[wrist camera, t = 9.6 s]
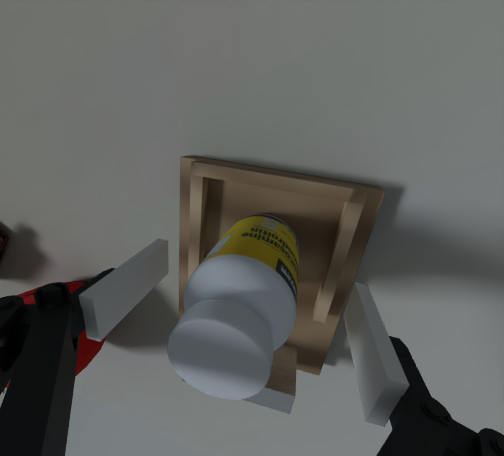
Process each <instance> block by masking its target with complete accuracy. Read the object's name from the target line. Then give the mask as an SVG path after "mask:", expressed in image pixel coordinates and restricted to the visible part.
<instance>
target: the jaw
mask: <svg viewBox="0 0 504 456" xmlns="http://www.w3.org/2000/svg"><path fill="white" fill-rule="evenodd" d="M296 361H297V347H296V346H293V345H289V344H285V343H284V344H283V345H282V346H281V347H279V348H278V349H277V350H275V351H274V355H273V360H272V366H271V372H270V376H269V379H268V382H267V384H266V386H265V387H264V388H263V389H262V390H261V391H260V392H259V393H257V394H255V395H254V396H251V397H249V398H245V399H243V400H246V401H249V402H252V403H256V404H259V405H262V406H265V407H269V408H272V409H275V410H278V411H282V412H285V413H288V414H290V412H291V408H292V405H293V402H294V399H295V391H296ZM182 381H184V382H186V381H185V380H184V379H183V378H182Z"/></svg>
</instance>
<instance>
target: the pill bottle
mask: <svg viewBox="0 0 504 456" xmlns="http://www.w3.org/2000/svg"><path fill="white" fill-rule="evenodd" d="M299 255H300V253H299V244H298V240H297V238H296V236H295V234H294V232H293V231H292V229H291V228H290V227H289V226H288V225H287V224H286V223H285V222H283V221H282V220H280V219H278V218H276V217H274V216H271V215H267V214H252V215H248V216H245V217H243V218H241V219H240V220H238V221H237V222H235V223H234V224H233V225H232V226H231V228H230V229H229V230H228V231H227V232H226V234H225V235H224V236H223V237H222V238H221V239H220V241H219V242H218V243H217V244H216V245H215V247H214V248H213V249H212V250H211V251H210V253H209V254H208V255H207V256H206V258H205V259H204V260H203V261H202V262H201V264H200V265H199V266H198V267H197V268H196V270H195V271H194V272H193V274H192V275H191V277H190V278H189V280H188V282H187V285H186V288H185V292H184V308H185V313H184V314H183V315H182V316H181V318H180V320H179V321H178V323H177V324H176V326H175V327H174V329H173V331H172V332H171V334H170V336H169V339H168V343H167V351H168V356H169V359H170V362H171V364H172V366H173V368H174V369H175V371H176V372H177V373H178V374H179V375H180V376H181V377H182V378H183V379H184V380H185V381H186V382H187V383H188V384H190V385H191V386H193V387H194V388H196V389H197V390H199V391H201V392H203V393H205V394H208V395H210V396H213V397H218V398H222V399H245V398H249V397H251V396H254V395H255V394H257V393H259V392H260V391H261V390H262V389H263V388H264V387H265V386H266V384H267V382H268V379H269V376H270V372H271V366H272V360H273V355H274V351H275V350H277V349H278V348H279V347H281V346H282V345H283V344H284V343H285V341H286V340H287V339H288V337H289V336H290V334H291V332H292V330H293V327H294V324H295V318H296V306H297V290H298V273H299Z"/></svg>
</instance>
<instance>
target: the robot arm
mask: <svg viewBox="0 0 504 456" xmlns="http://www.w3.org/2000/svg"><path fill="white" fill-rule="evenodd" d="M167 274H168V241H167V240H162V239H157V240H156V241H154V242H153V243H152V244H150V245H149V246H147V247H146V248H145V249H143V250H142V251H140V252H139V253H137V254H136V255H135V256H133V257H132V258H130V259H129V260H128V261H126V262H125V263H123V264H122V265H121V266H119V267H118V268H116V269H114V268H111V269H108V270H106V271H103V272H102V273H100V274H99V275H97V276H96V277H95V278H93V279H91V280H90V281H89V282H87V283H85V284H84V285H82V286H81V287H79V288H78V289H76V290H75V291H74V292H72V293H71V294H70V290H69V286H68V284H66V283H62V282H56V283H50V284H47V285H44V286H42V287H40V288H38V289H37V290H36V291H35V292H34V293H33V296H34V299H35V303H36V304H25V303H24V300H23V297H21V296H15V295H13V296H6V297H3V298H0V395H1V393H2V392H3V390H4V389H5V387H6V386H7V384H8V383H9V381H10V383H9V386H8V388H7V391H6V394H5V397H4V399H3V402H2V405H1V407H0V456H65V451H66V443H67V435H68V428H69V419H70V412H71V405H72V397H73V390H74V382H75V374H76V367H77V359H78V352H79V344H80V337H79V335H80V334H81V333H82V332H83V331H84V330H86V335H87V338H89V339H92V340H96V341H99V342H100V341H101V340H102V339H103V338H104V337H105V336H106V335H107V334H108V333H109V332H110V331H111V330H112V329H113V328H114V327H115V326H116V325H117V324H118V323H119V322H120V321H121V320H122V319H123V318H124V317H125V316H126V315H127V314H128V313H129V312H130V311H131V310H132V309H133V308H134V307H135V306H136V305H137V304H138V303H139V302H140V301H141V300H142V299H143V298H144V297H145V296H146V295H147V294H148V293H149V292H150V291H151V290H152V289H153V288H154V287H155V286H156V285H157V284H158V283H159V282H160V281H161V280H162V279H163V278H164V277H165V276H166V275H167ZM343 317H344V322H345V327H346V331H347V336H348V341H349V345H350V350H351V354H352V359H353V364H354V368H355V373H356V378H357V382H358V387H359V392H360V396H361V401H362V405H363V410H364V415H365V419H366V421H367V422H370V423H373V424H377V425H380V426H383V427H385V425H386V423H387V422H388V420H389V419H390V422H391V425H392V429H393V430H392V432H391V433H390V435H389V436H388V438H387V440H386V441H385V443H384V444H383V446H382V448H381V449H380V451H379V452H378V454H377V456H504V435H503V434H501V433H499V432H497V431H495V430H493V429H488V428H484V429H482V430H480V432H479V433H476V432H474V431H473V430H471V429H469V428H467V427H465V426H464V425H462V424H460V423H458V422H456V421H455V420H453V419H452V418H451V415H450V414H449V412H448V411H447V410H446V408H445V407H444V406H443V405H442V404H440V403H439V402H438V401H437V400H435V399H434V398H432V397H431V395H430V393H429V391H428V389H427V387H426V385H425V383H424V381H423V379H422V376H421V374H420V372H419V370H418V368H417V367H416V364H415V362H414V360H413V359H412V356H411V354H410V352H409V350H408V348H407V347H406V345H405V344H404V343H403V342H402V341H401V340H400V339H399V338H395V337H391V336H388V333H387V331H386V328H385V326H384V324H383V321H382V319H381V317H380V314H379V312H378V309H377V307H376V305H375V302H374V300H373V298H372V295H371V293H370V290H369V288H368V286H367V285H365V284H361V283H356V282H355V283H354V286H353V289H352V292H351V294H350V297H349V300H348V302H347V305H346V308H345V311H344V313H343Z"/></svg>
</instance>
